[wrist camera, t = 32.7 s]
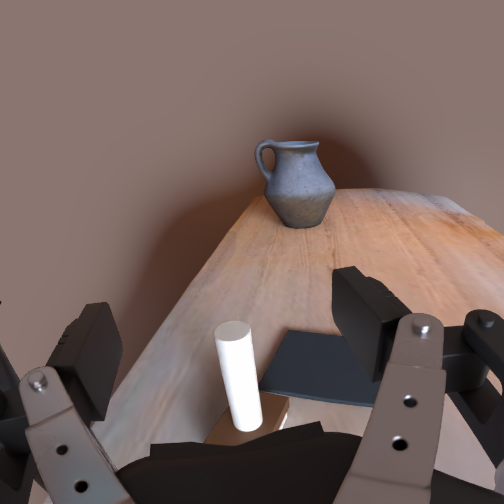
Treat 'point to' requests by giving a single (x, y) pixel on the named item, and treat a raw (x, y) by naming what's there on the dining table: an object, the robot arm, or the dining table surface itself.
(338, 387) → the mat
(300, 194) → the pitcher
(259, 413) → the tall white pillar
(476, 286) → the dining table surface
